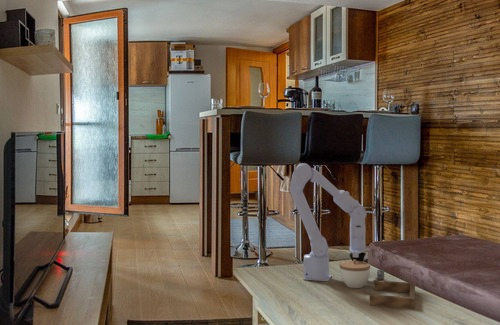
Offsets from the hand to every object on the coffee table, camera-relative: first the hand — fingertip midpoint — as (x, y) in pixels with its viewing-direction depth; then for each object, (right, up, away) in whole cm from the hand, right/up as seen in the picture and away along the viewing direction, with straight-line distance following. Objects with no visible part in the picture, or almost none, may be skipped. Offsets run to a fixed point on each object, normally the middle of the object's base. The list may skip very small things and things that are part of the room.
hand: (357, 272), depth 188 cm
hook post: (+5, -3, -13) cm, 14 cm away
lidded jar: (-3, -3, -9) cm, 10 cm away
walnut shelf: (+6, -3, -23) cm, 24 cm away
